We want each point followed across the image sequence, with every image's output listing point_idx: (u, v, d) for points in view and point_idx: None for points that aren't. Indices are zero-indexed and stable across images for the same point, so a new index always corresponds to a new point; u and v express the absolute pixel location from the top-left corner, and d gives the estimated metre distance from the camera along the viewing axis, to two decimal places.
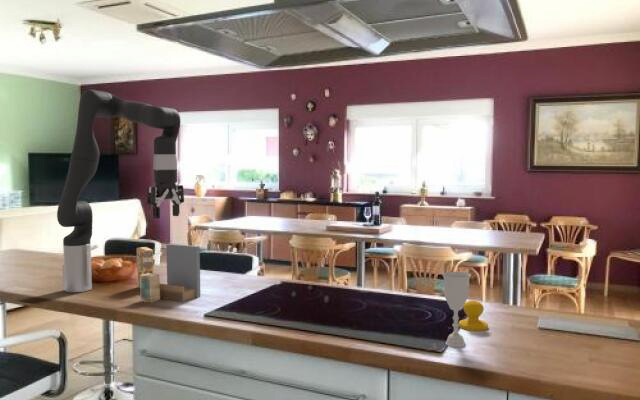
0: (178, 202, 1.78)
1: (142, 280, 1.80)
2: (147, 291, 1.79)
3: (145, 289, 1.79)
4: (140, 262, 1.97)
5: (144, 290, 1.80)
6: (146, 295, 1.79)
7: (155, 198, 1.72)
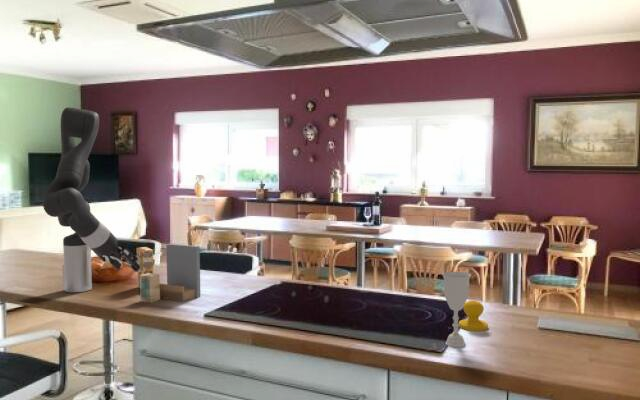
0: (128, 264, 1.67)
1: (142, 280, 1.80)
2: (147, 291, 1.79)
3: (145, 289, 1.79)
4: (140, 262, 1.97)
5: (144, 290, 1.80)
6: (146, 295, 1.79)
7: None
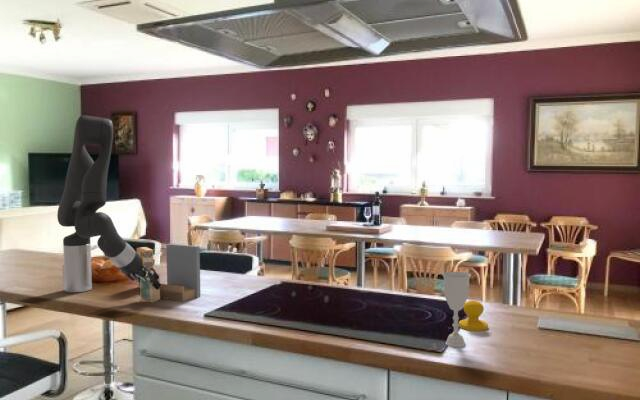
0: (150, 282, 1.77)
1: (142, 280, 1.80)
2: (147, 291, 1.79)
3: (145, 289, 1.79)
4: None
5: (144, 290, 1.80)
6: (146, 295, 1.79)
7: None
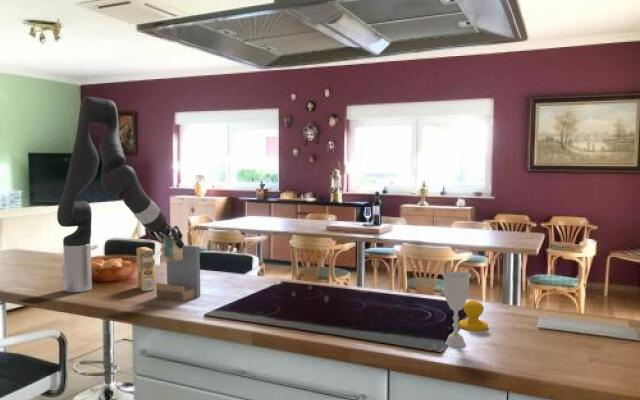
0: (173, 241, 1.80)
1: (165, 239, 1.82)
2: (170, 250, 1.81)
3: (168, 248, 1.82)
4: (140, 262, 1.97)
5: (167, 249, 1.82)
6: (169, 254, 1.82)
7: None
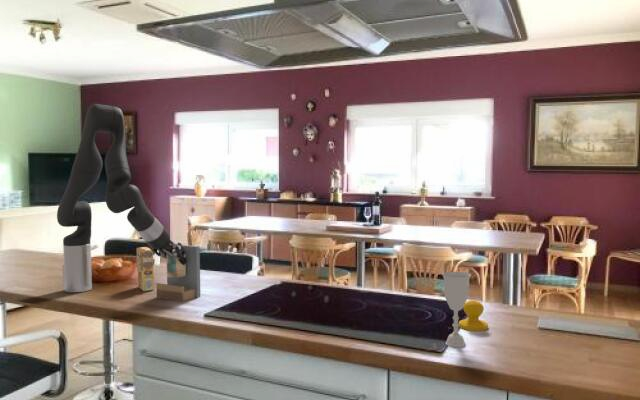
0: (176, 257, 1.81)
1: (169, 255, 1.83)
2: (174, 266, 1.83)
3: (172, 264, 1.83)
4: (140, 262, 1.97)
5: (171, 265, 1.83)
6: (173, 270, 1.83)
7: None
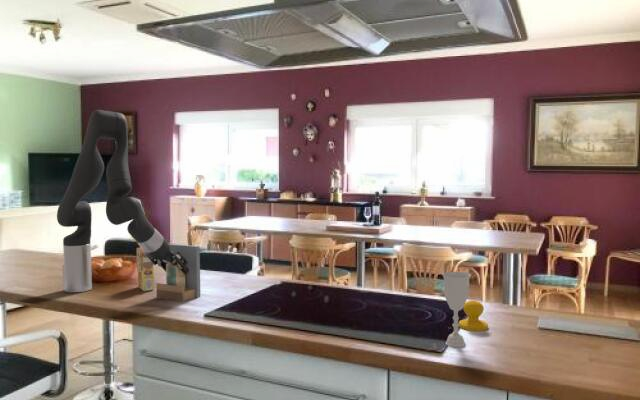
0: (178, 267, 1.80)
1: (168, 269, 1.84)
2: (173, 279, 1.83)
3: (171, 277, 1.83)
4: (140, 262, 1.97)
5: (170, 278, 1.84)
6: (172, 283, 1.83)
7: None
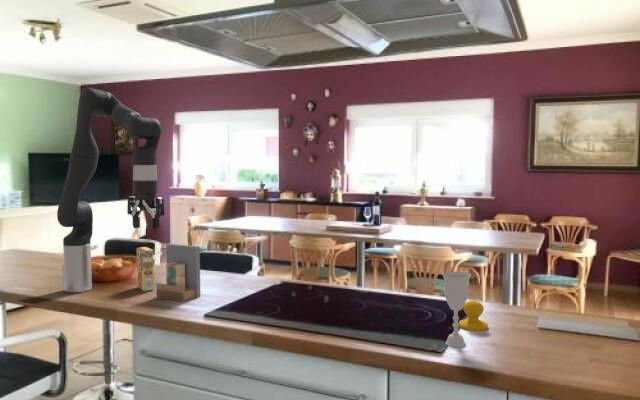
0: (152, 215, 1.69)
1: (168, 269, 1.84)
2: (173, 279, 1.83)
3: (171, 277, 1.83)
4: (140, 262, 1.97)
5: (170, 278, 1.84)
6: (172, 283, 1.83)
7: (138, 208, 1.75)
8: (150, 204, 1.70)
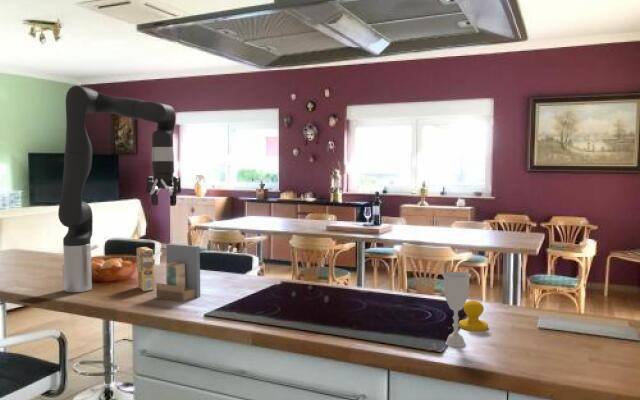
0: (170, 192, 1.86)
1: (168, 269, 1.84)
2: (173, 279, 1.83)
3: (171, 277, 1.83)
4: (140, 262, 1.97)
5: (170, 278, 1.84)
6: (172, 283, 1.83)
7: (156, 187, 1.91)
8: (168, 182, 1.86)
